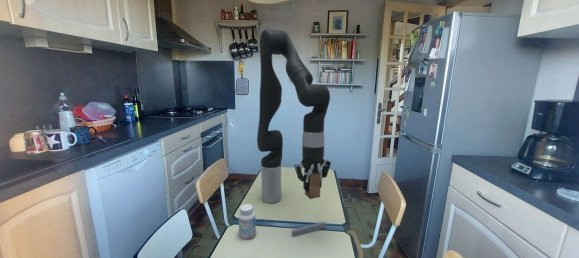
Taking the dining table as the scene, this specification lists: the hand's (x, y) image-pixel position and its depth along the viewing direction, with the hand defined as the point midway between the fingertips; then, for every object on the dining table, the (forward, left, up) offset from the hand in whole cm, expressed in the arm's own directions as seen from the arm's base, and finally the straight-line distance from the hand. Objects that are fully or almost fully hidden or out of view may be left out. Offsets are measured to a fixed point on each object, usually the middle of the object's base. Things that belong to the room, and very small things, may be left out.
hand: (312, 189), depth 88 cm
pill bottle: (-8, -22, -18) cm, 30 cm away
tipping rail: (-1, 0, -18) cm, 18 cm away
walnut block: (0, 0, -2) cm, 2 cm away
